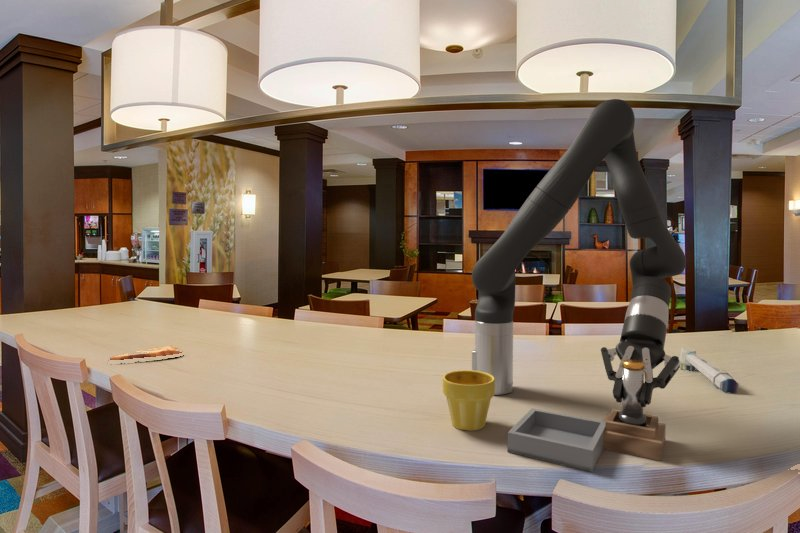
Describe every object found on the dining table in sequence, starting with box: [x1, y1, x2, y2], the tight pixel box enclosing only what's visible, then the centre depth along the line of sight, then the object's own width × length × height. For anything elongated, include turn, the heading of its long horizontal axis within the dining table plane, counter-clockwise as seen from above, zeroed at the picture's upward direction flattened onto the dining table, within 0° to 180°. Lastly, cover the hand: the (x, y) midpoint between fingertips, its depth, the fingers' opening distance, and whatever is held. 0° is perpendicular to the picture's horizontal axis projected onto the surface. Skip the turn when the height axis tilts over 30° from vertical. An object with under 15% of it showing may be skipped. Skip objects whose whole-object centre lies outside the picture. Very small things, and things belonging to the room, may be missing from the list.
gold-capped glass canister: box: [619, 359, 646, 427], centre depth 86 cm, size 4×4×12 cm
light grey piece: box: [676, 346, 740, 394], centre depth 127 cm, size 5×7×25 cm
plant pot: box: [442, 369, 495, 431], centre depth 96 cm, size 10×10×10 cm
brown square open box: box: [602, 408, 667, 462], centre depth 86 cm, size 10×10×4 cm
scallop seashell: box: [109, 345, 183, 360], centre depth 153 cm, size 18×18×4 cm
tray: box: [507, 407, 606, 473], centre depth 86 cm, size 14×14×4 cm
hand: (630, 402), depth 85 cm, fingers closed on gold-capped glass canister, 3 cm apart
